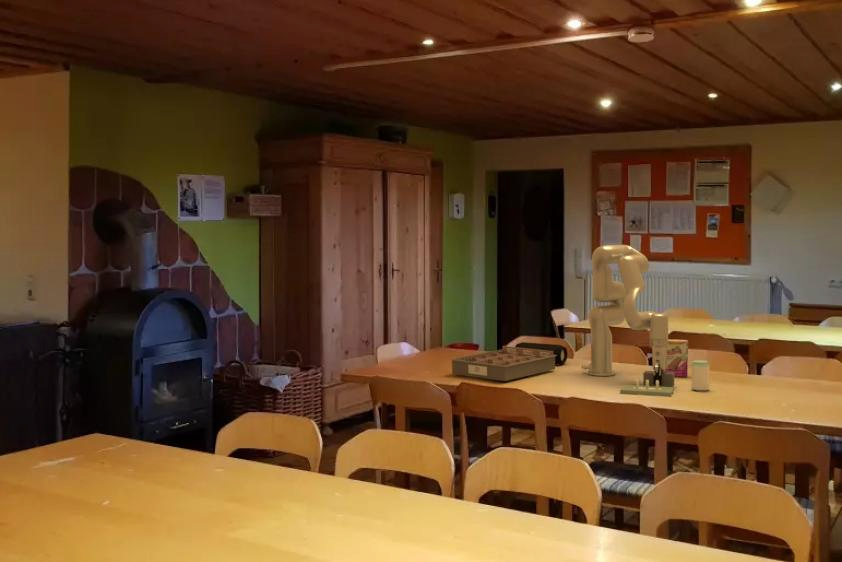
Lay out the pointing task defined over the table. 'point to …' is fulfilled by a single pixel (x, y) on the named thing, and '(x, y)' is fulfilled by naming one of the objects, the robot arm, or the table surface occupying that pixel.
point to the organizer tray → (505, 363)
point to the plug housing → (666, 378)
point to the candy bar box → (677, 357)
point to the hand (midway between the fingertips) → (658, 382)
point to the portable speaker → (556, 349)
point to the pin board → (647, 389)
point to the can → (700, 375)
